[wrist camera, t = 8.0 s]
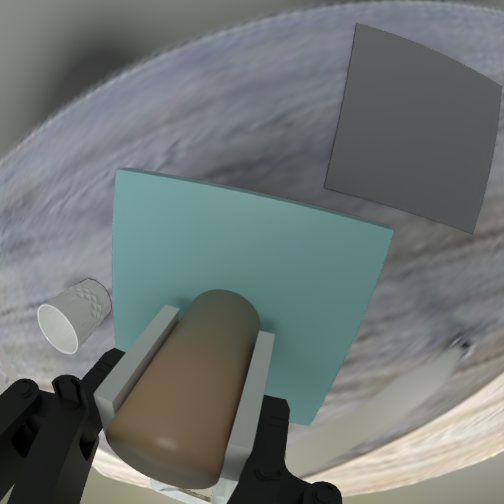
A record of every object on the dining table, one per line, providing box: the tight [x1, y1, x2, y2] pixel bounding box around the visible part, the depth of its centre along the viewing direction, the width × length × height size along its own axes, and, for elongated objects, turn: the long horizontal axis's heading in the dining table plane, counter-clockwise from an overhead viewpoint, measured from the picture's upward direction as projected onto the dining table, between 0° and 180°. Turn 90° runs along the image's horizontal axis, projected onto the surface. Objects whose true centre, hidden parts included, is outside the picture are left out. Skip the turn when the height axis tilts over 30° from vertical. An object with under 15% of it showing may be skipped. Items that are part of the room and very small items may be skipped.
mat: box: [324, 23, 502, 234], centre depth 27 cm, size 20×20×1 cm
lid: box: [105, 168, 394, 489], centre depth 12 cm, size 14×14×10 cm
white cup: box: [37, 279, 111, 354], centre depth 38 cm, size 8×8×10 cm
